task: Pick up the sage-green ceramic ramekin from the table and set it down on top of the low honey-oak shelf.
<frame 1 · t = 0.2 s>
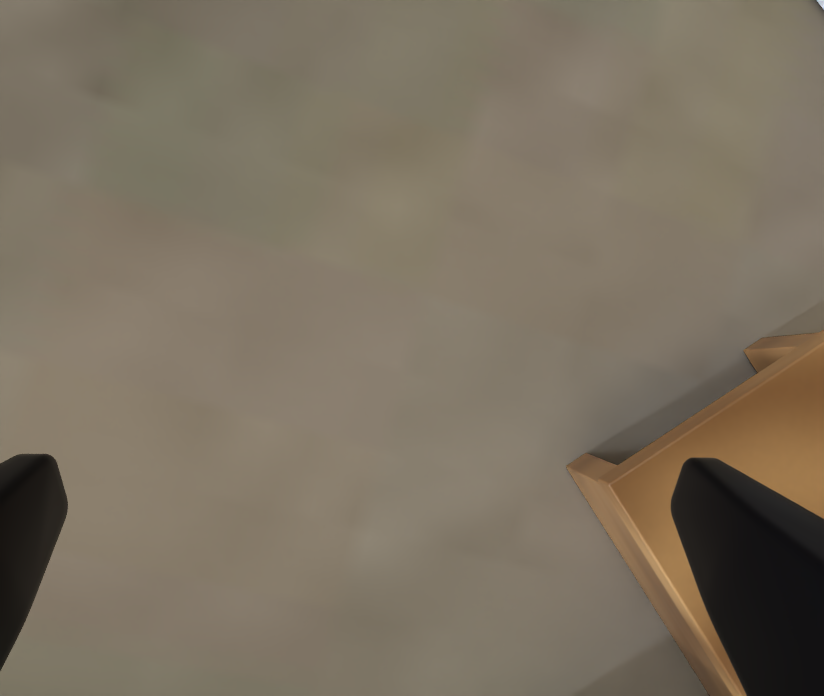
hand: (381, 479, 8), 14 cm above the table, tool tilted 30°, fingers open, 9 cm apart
shelf: (752, 539, 23), on the table
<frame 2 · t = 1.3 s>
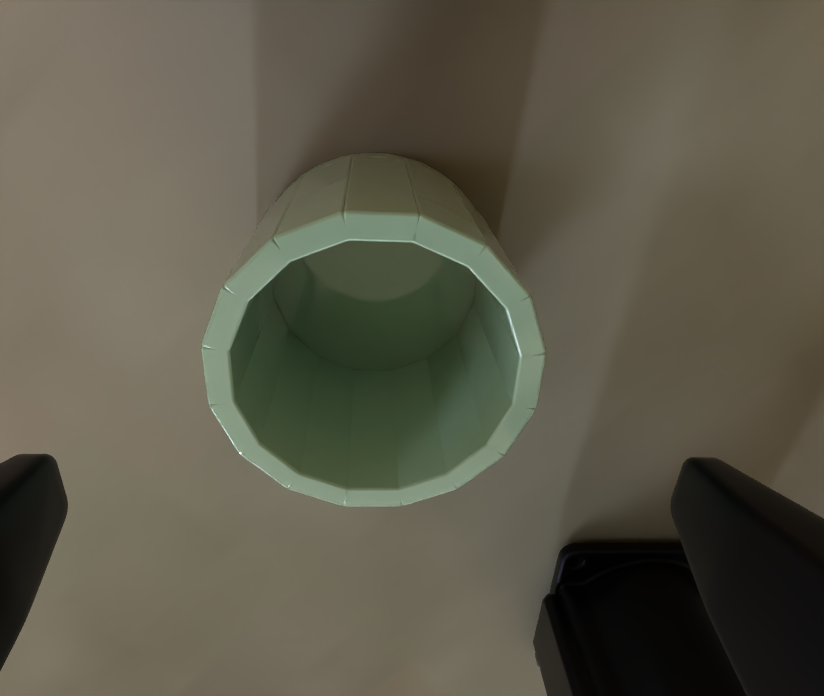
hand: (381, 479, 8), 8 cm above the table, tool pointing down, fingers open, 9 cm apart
ramekin: (375, 273, 16), on the table
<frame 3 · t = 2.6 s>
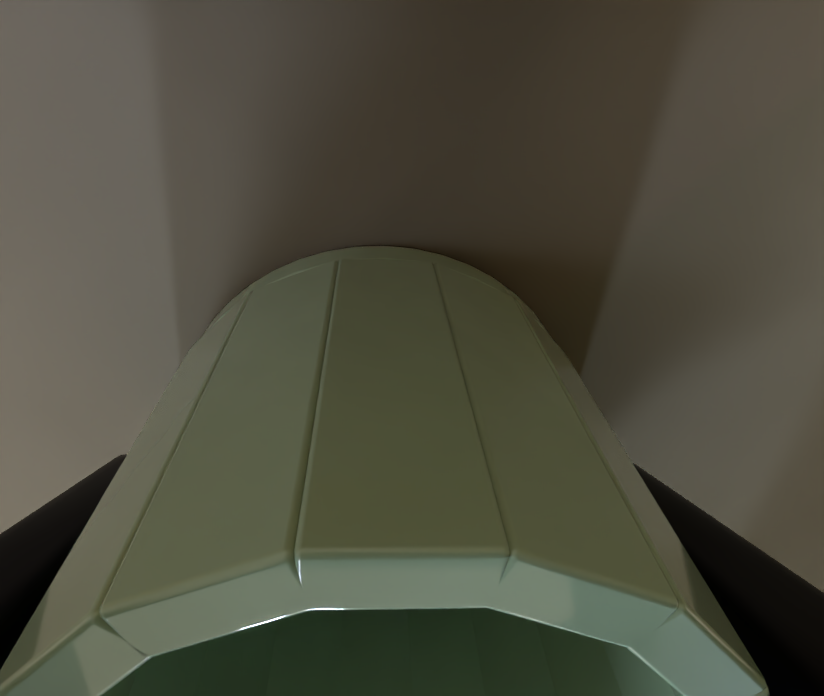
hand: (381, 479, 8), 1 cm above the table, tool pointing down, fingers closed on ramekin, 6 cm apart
ramekin: (379, 428, 10), on the table, touching gripper
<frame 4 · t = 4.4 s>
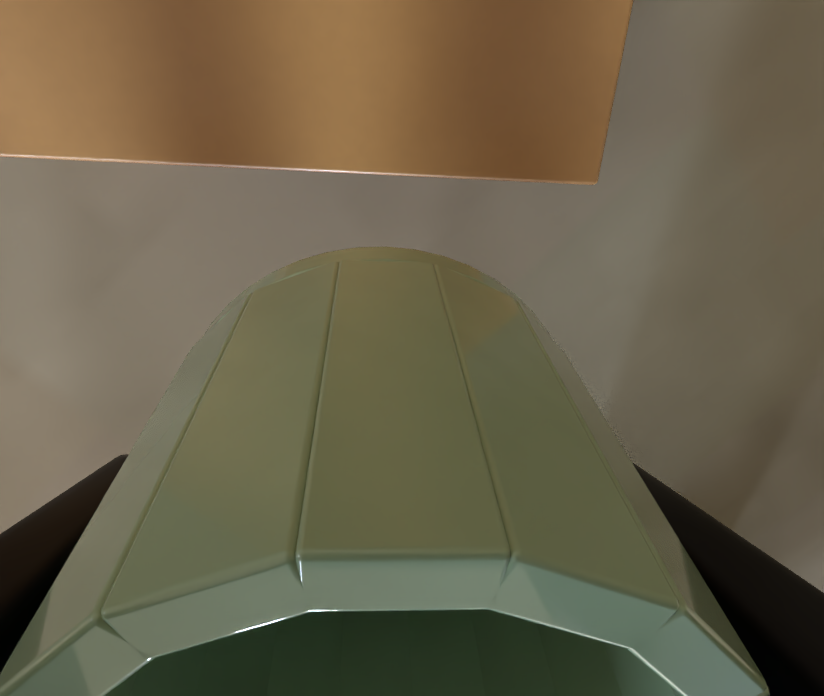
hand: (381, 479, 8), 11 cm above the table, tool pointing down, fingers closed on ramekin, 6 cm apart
ramekin: (379, 429, 10), point 9 cm above the table, touching gripper
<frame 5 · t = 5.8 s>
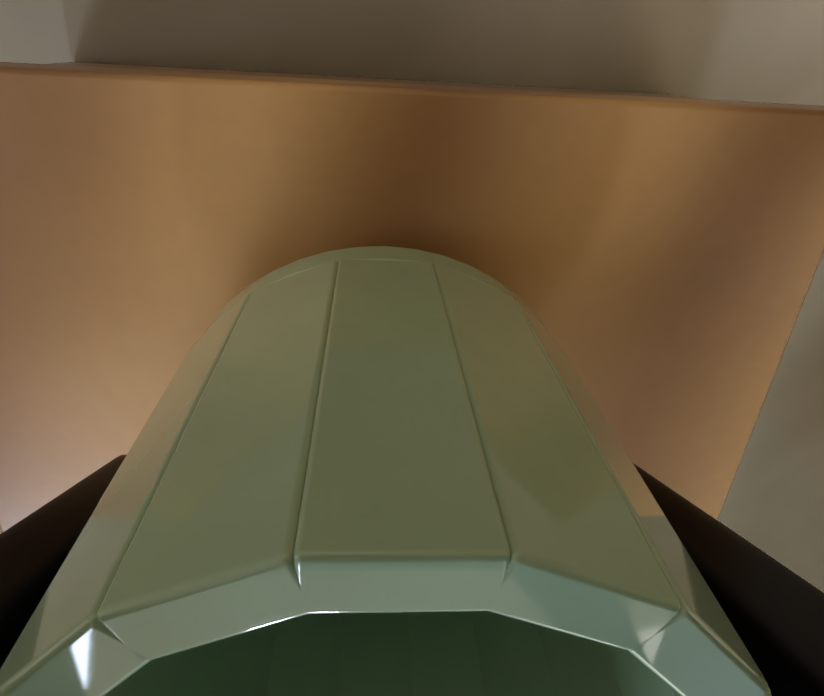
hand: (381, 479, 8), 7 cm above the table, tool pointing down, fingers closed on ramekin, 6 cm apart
shelf: (376, 284, 15), on the table
ramekin: (379, 429, 9), point 6 cm above the table, touching gripper
when the fingers open (7 cm above the table, at t = 6.5 s): ramekin stays where it is, resting on shelf.
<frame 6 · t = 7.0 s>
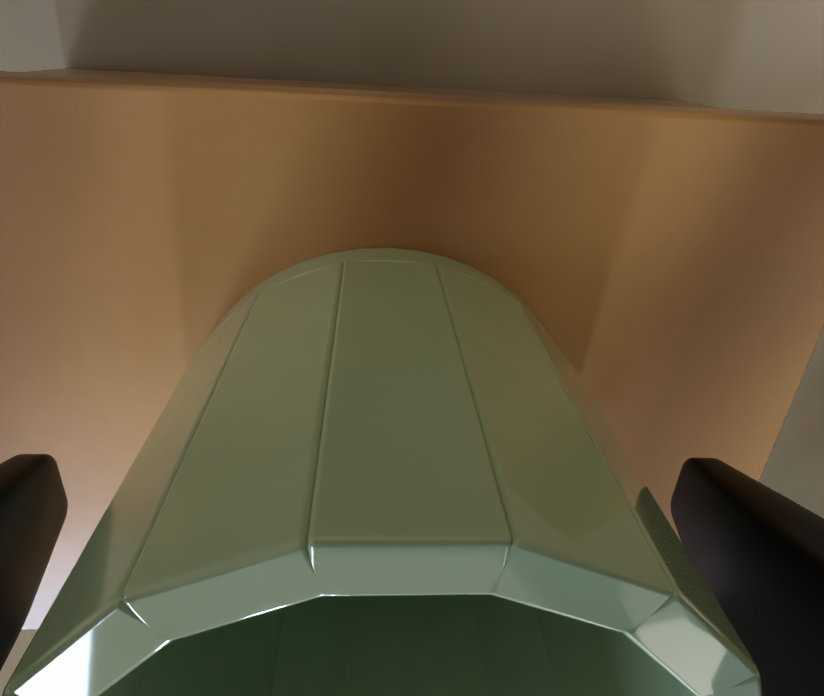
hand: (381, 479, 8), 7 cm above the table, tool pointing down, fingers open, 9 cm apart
shelf: (379, 296, 15), on the table
ramekin: (382, 427, 10), point 5 cm above the table, touching shelf
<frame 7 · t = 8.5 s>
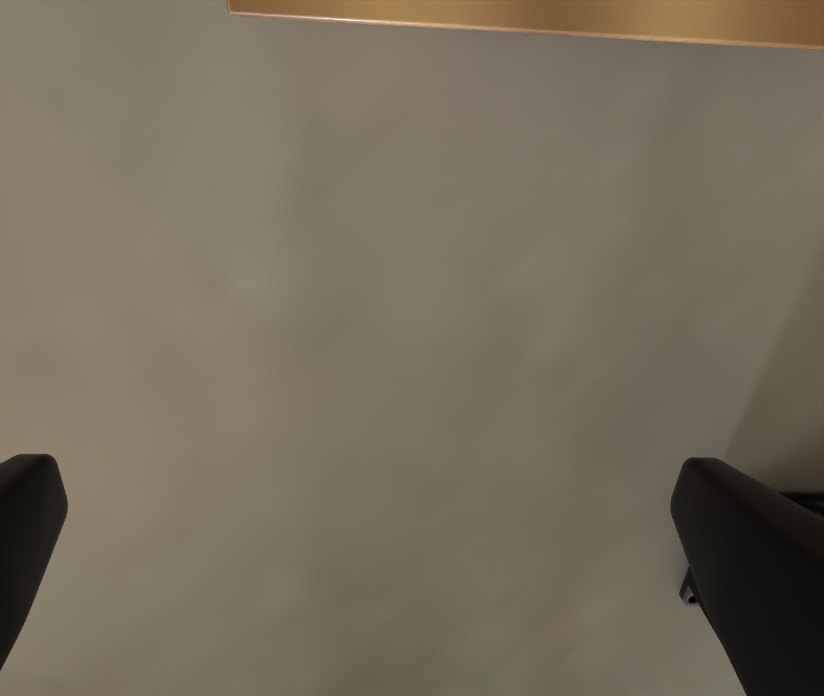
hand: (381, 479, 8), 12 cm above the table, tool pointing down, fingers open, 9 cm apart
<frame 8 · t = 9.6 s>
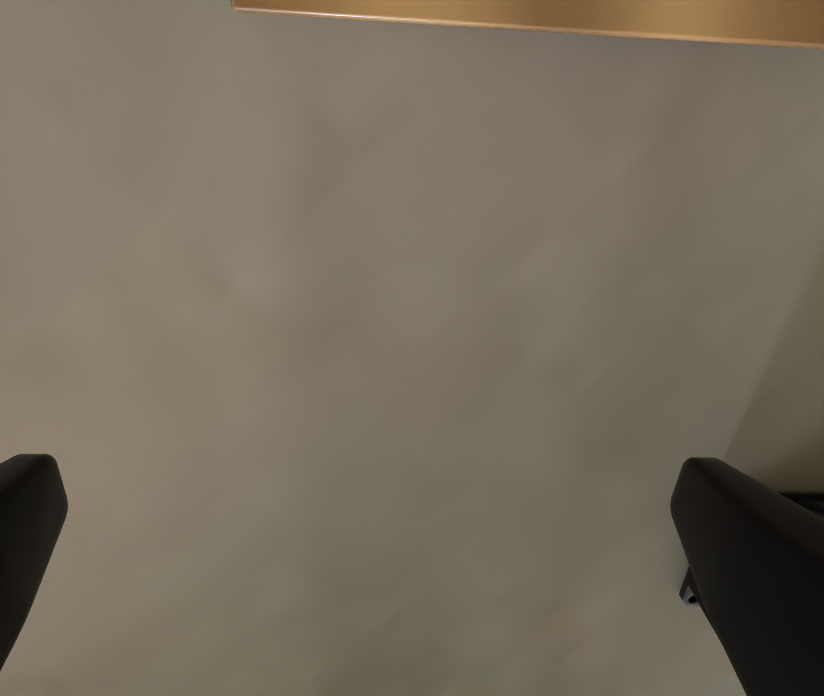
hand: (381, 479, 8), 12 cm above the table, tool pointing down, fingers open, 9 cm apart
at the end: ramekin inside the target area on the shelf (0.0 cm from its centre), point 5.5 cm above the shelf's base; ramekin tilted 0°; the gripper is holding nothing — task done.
